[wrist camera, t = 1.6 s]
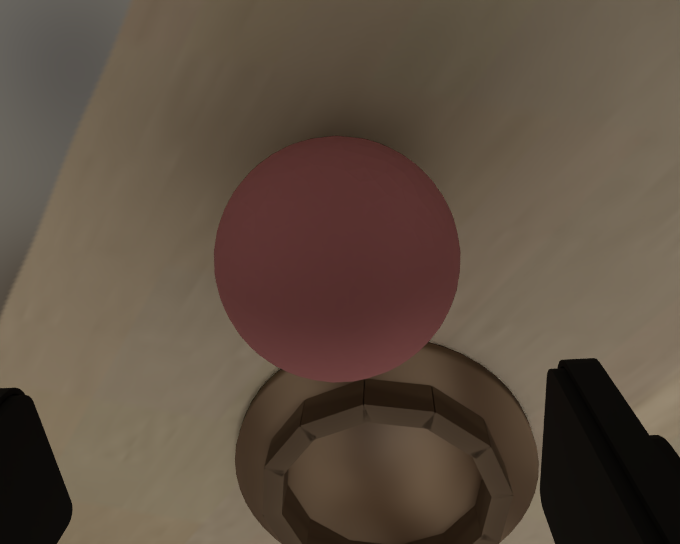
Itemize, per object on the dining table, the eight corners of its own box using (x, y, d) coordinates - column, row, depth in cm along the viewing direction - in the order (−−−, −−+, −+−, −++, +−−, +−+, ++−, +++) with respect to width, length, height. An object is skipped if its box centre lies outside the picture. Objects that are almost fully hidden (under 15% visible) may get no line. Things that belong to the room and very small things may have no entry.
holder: (473, 290, 26) (483, 322, 23) (570, 522, 32) (588, 570, 29) (185, 398, 30) (165, 436, 27) (318, 588, 35) (312, 636, 33)
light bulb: (236, 156, 24) (118, 274, 13) (378, 60, 22) (376, 106, 11) (328, 283, 26) (291, 473, 15) (464, 207, 24) (531, 363, 13)
